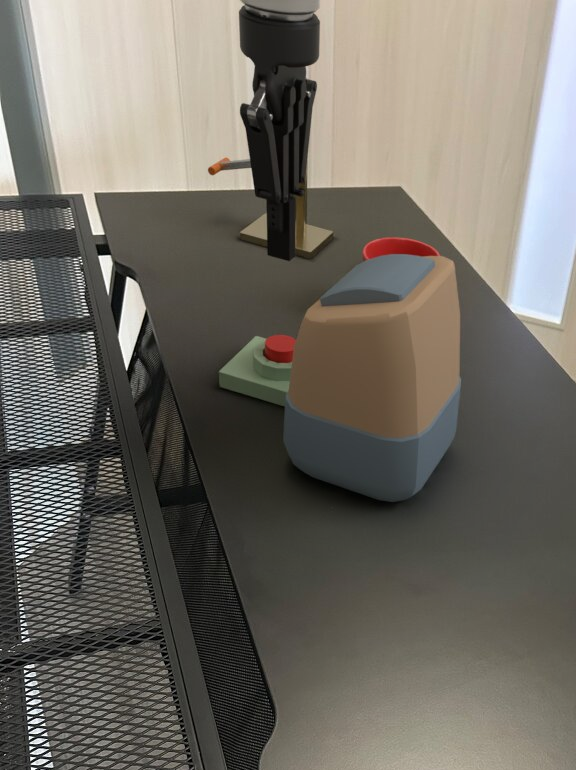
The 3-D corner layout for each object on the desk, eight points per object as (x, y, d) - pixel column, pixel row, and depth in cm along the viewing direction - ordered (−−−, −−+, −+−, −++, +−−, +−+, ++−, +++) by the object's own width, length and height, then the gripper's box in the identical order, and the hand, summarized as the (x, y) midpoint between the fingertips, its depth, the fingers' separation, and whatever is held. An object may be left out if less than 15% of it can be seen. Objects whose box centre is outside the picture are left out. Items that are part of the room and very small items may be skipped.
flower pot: (343, 309, 123) (347, 242, 116) (405, 295, 129) (412, 231, 122) (384, 344, 118) (390, 276, 111) (447, 328, 123) (456, 263, 116)
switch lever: (210, 179, 131) (205, 163, 130) (226, 170, 135) (221, 153, 133) (290, 172, 126) (286, 155, 125) (304, 162, 130) (300, 145, 128)
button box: (219, 387, 105) (217, 358, 102) (256, 350, 112) (255, 322, 109) (309, 414, 104) (309, 385, 101) (340, 375, 111) (342, 348, 108)
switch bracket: (240, 239, 134) (236, 145, 124) (265, 220, 140) (264, 129, 130) (310, 259, 133) (312, 166, 123) (333, 238, 139) (336, 148, 129)
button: (259, 358, 104) (259, 345, 103) (273, 344, 107) (273, 331, 106) (289, 367, 104) (289, 354, 103) (303, 352, 107) (303, 340, 105)
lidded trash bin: (336, 403, 106) (345, 215, 90) (461, 444, 104) (493, 259, 87) (271, 476, 95) (267, 275, 78) (410, 524, 92) (436, 327, 76)
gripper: (286, 31, 75) (287, 287, 91) (343, 6, 84) (334, 243, 101) (208, 12, 76) (223, 269, 92) (273, -11, 85) (276, 227, 101)
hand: (281, 255), depth 96 cm, fingers closed
